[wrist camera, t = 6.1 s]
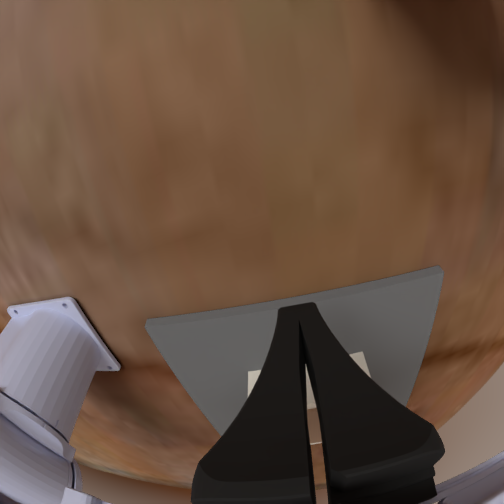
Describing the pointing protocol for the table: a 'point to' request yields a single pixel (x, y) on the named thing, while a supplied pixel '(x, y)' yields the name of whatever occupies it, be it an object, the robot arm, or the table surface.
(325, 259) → the table surface
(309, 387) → the cream slab
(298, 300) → the rubber mat
